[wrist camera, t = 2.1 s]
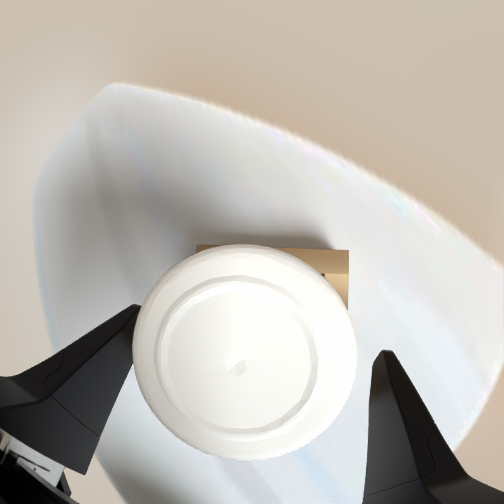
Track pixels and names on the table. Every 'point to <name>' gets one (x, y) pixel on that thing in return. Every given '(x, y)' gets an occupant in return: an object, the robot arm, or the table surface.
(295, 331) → the sprinkles bottle
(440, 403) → the table surface
